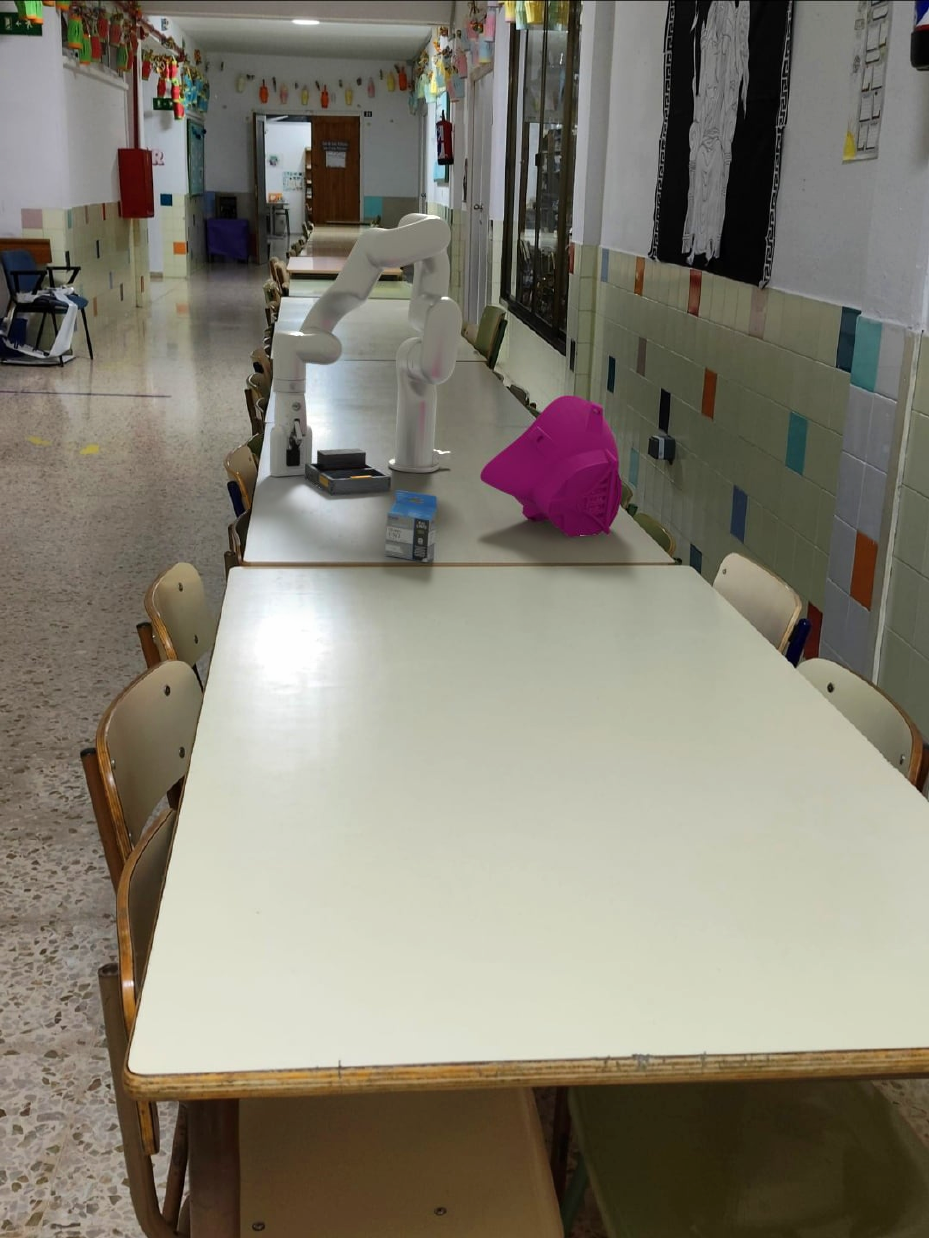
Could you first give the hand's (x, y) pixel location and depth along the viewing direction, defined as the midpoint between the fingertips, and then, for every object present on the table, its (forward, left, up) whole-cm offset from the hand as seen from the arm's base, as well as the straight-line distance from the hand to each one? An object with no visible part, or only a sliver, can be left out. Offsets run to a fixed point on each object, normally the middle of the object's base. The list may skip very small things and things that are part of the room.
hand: (289, 462), depth 284 cm
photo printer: (0, 0, -3) cm, 3 cm away
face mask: (-38, +57, -3) cm, 69 cm away
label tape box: (0, +67, -3) cm, 67 cm away
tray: (-10, +12, -3) cm, 16 cm away
